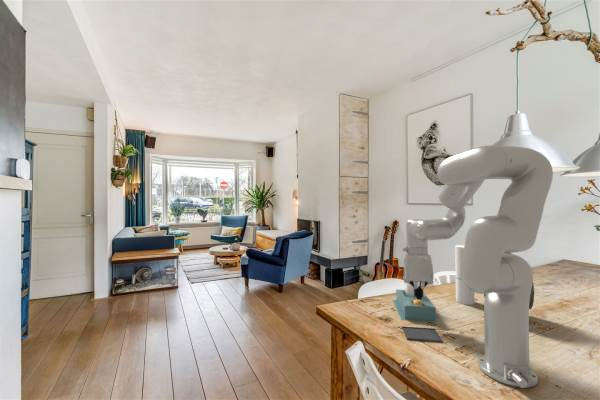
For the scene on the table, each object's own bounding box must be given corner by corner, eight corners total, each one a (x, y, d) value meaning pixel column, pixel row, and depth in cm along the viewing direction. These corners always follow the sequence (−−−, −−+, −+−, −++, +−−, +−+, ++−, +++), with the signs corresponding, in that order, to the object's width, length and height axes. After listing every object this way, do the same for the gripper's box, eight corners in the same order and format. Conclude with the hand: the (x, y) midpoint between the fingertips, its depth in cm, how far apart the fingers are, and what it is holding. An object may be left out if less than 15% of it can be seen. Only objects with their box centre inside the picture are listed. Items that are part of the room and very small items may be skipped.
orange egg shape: (423, 314, 103) (423, 302, 104) (414, 313, 104) (414, 302, 104) (421, 311, 107) (420, 299, 107) (412, 310, 107) (412, 299, 107)
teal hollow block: (441, 324, 100) (440, 308, 100) (401, 322, 102) (401, 306, 102) (425, 303, 120) (425, 289, 120) (392, 301, 123) (392, 288, 123)
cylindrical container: (477, 305, 117) (476, 248, 117) (459, 304, 119) (458, 247, 119) (470, 299, 124) (469, 245, 124) (453, 298, 126) (452, 244, 126)
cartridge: (419, 308, 112) (419, 279, 112) (406, 307, 113) (406, 278, 113) (416, 304, 117) (416, 275, 117) (404, 303, 118) (404, 275, 118)
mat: (442, 342, 88) (442, 340, 88) (407, 339, 89) (407, 338, 89) (432, 326, 98) (432, 325, 98) (400, 324, 100) (400, 323, 100)
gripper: (398, 252, 103) (400, 301, 102) (441, 252, 100) (442, 302, 100) (395, 249, 110) (396, 294, 110) (434, 249, 108) (436, 296, 107)
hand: (418, 298), depth 105 cm, fingers closed
